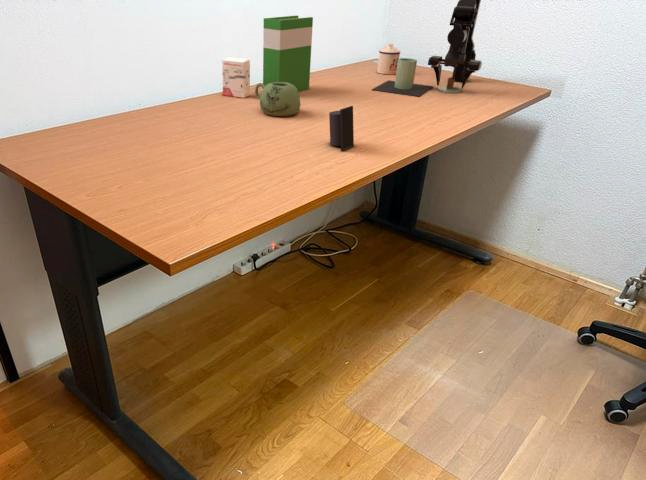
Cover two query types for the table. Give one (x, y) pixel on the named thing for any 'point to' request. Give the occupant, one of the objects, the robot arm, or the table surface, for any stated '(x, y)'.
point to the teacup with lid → (388, 60)
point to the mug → (279, 99)
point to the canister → (405, 73)
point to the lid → (449, 87)
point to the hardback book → (287, 50)
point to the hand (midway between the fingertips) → (449, 86)
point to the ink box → (236, 77)
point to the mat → (390, 88)
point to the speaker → (342, 128)
